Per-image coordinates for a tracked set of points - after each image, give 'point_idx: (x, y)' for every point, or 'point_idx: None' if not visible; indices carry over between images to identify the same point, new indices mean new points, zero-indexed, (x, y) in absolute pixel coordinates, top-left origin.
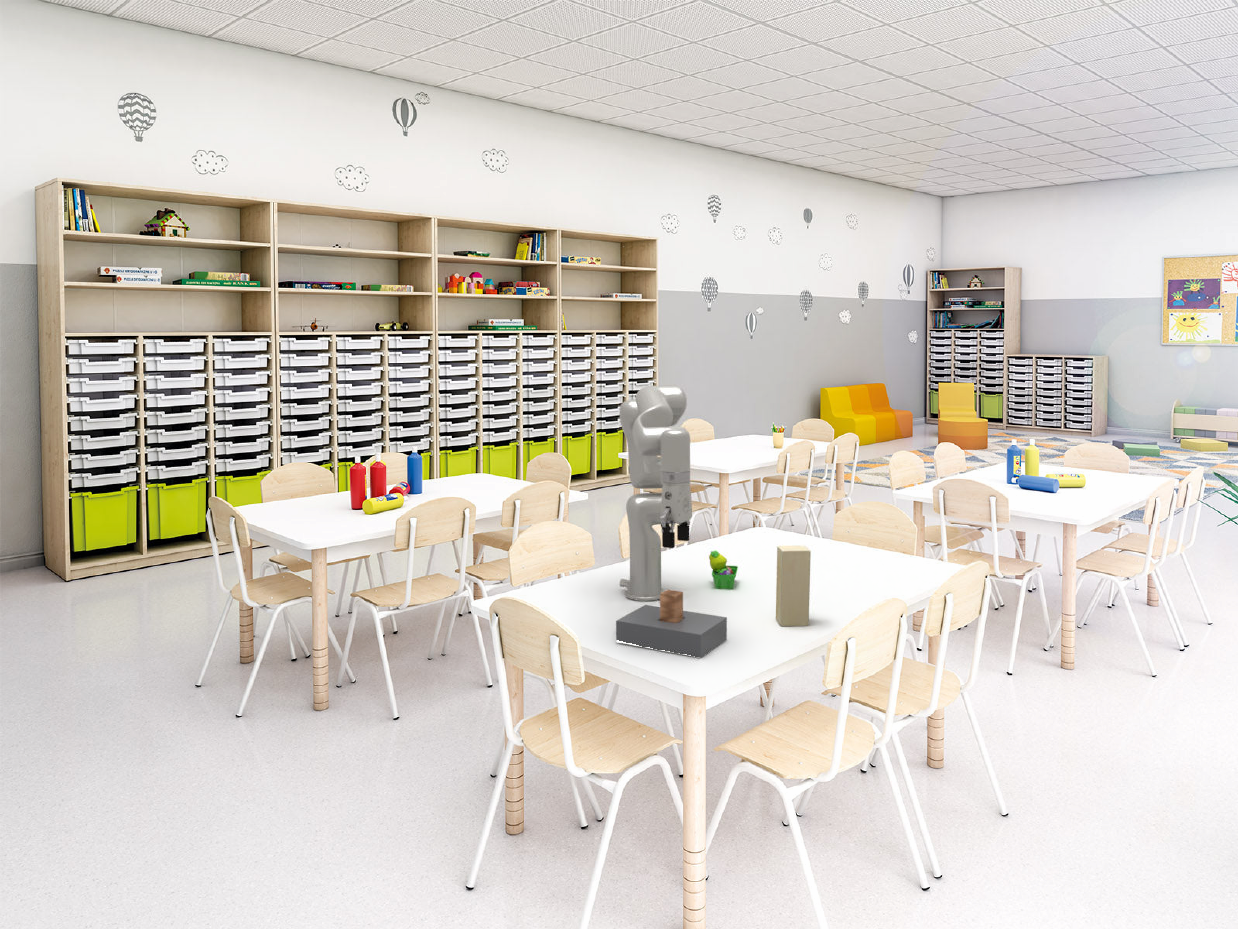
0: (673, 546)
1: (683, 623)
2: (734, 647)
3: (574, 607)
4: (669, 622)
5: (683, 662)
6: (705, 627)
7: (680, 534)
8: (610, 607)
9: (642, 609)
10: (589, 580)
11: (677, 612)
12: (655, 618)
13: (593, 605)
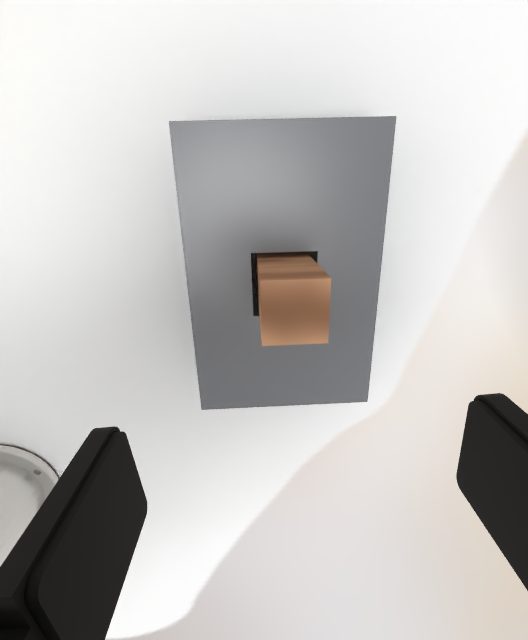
0: (508, 402)
1: (309, 230)
2: (234, 77)
3: (184, 543)
4: None
5: (413, 161)
6: (315, 139)
7: (119, 540)
8: None
9: (244, 395)
10: None
11: (300, 264)
12: None
13: (149, 526)
